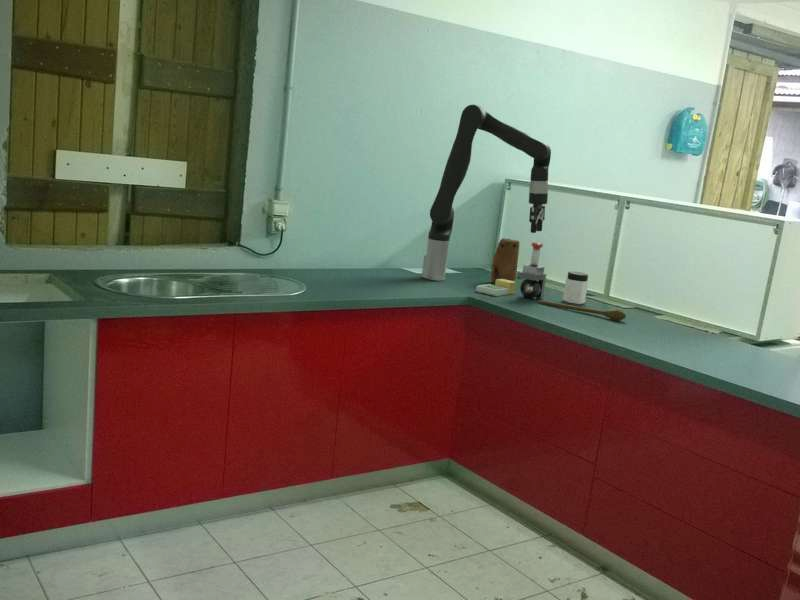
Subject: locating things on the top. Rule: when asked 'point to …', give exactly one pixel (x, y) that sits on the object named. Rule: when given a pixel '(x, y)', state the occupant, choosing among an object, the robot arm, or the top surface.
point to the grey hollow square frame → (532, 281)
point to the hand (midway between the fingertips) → (536, 231)
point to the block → (505, 260)
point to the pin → (535, 254)
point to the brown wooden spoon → (589, 310)
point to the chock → (506, 285)
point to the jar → (575, 287)
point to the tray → (492, 290)
